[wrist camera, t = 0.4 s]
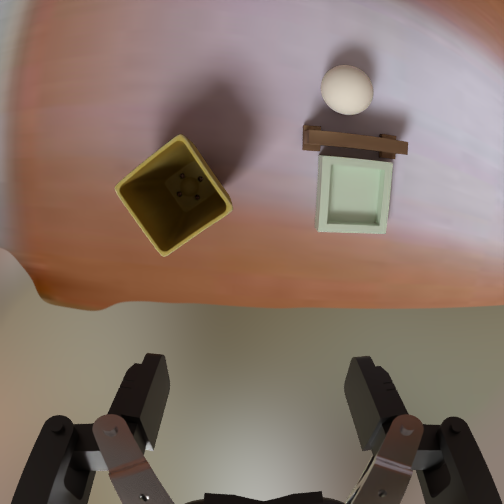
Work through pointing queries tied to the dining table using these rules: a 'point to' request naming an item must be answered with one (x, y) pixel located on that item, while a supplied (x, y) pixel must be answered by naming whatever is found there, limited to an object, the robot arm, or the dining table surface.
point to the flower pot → (173, 195)
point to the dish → (352, 195)
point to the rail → (352, 141)
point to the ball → (347, 89)
